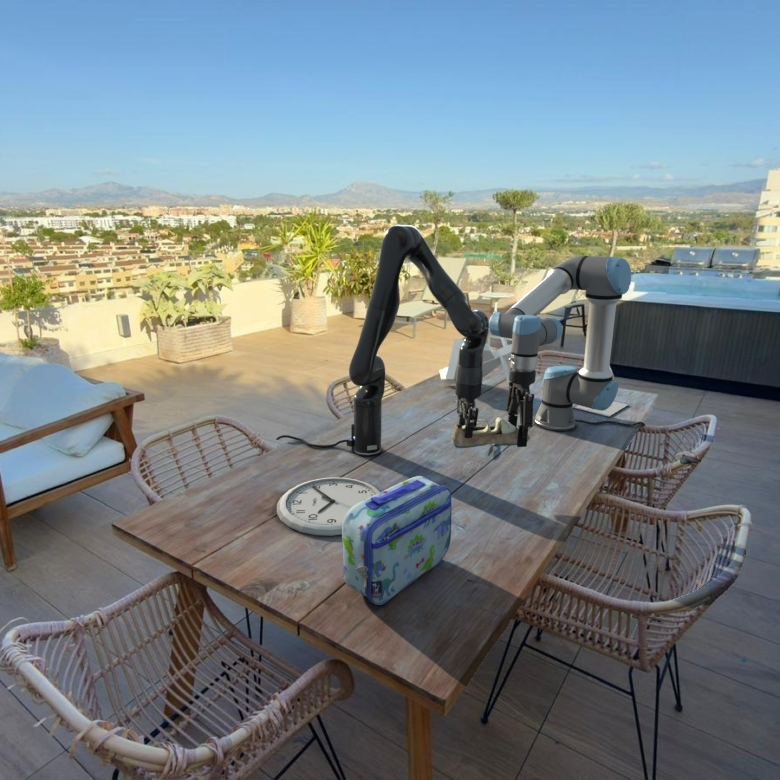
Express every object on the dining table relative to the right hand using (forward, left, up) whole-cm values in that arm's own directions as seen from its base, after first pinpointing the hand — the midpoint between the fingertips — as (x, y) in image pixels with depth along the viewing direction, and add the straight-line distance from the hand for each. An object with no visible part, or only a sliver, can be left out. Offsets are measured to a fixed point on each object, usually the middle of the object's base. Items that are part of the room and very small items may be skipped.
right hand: (516, 440), depth 160 cm
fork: (+5, -19, -11) cm, 23 cm away
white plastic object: (+7, -84, -11) cm, 85 cm away
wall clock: (+51, +27, -11) cm, 59 cm away
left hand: (+16, +4, +3) cm, 16 cm away
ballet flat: (+8, +2, -1) cm, 8 cm away
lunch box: (+30, +55, -11) cm, 64 cm away
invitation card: (-45, -72, -11) cm, 85 cm away
